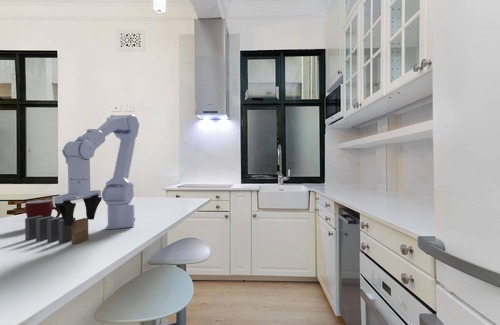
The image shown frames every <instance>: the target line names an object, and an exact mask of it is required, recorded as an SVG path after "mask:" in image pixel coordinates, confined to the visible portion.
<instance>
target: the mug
mask: <svg viewBox="0 0 500 325" xmlns="http://www.w3.org/2000/svg"><path fill="white" fill-rule="evenodd" d="M24 205H25V206H24V207H25V208H24V209H25V214H26V218H30V217H35V216H43V218H44V217H48V216H52V214H53V210H55V211H56V216H54V218H57V217H61V213H60V212H59V210H58V209H57V208H56V206H54V201H53V200H52V199H40V200H39V199H37V200H32V201H27V202H25V203H24Z"/></svg>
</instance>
